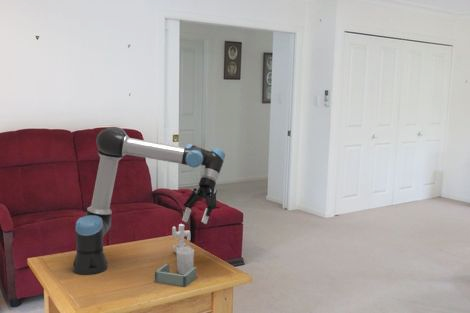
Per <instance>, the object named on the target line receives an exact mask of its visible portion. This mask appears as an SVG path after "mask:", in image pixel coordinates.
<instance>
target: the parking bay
mask: <svg viewBox="0 0 470 313" xmlns="http://www.w3.org/2000/svg"><path fill="white" fill-rule="evenodd" d="M196 278H197V267H195V266H193V268H192V269H191V270H190V271H188V272H187V273H186V274H185V275H184V274H179V273H172V272H170V263H168V262H166V263H165V264H163V266H160V267H159V268H158V269H157V270H155V271H154V283H159V284H166V285H172V286H177V287H184V288H186V287H187V286H188V285H190V283H191V282H193V281H194V280H195V279H196Z"/></svg>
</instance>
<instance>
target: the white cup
mask: <svg viewBox="0 0 470 313" xmlns="http://www.w3.org/2000/svg"><path fill="white" fill-rule="evenodd" d="M176 252H177V253H176ZM176 252H175V253H176V266H177V274H180V275H185V274H186V273H187V272H188V271H190V270H191V269H192V268H193V267H194V260H195V250H194V249H193V248H192V247H191V248H180V249H178V250H177V251H176Z"/></svg>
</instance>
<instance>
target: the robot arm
mask: <svg viewBox="0 0 470 313" xmlns="http://www.w3.org/2000/svg"><path fill="white" fill-rule="evenodd" d="M95 141H96V146H97V147H96V148H98V151H97V154H98V156H99V163H98V168H97V172H96V178H95V183H94V184H95V185H94V189H93V194H92V199H91V204H90V205H89V207H86V213H85V215H84V216H81V217H79V218H78V219H77V220H76V222H75V228H74V229H75V243H76V244H75V245H76V247H75V248H76V254H75V257H74V261H73V264H72V272H74V273H76V274H79V275H95V274H99V273H102V272H104V271H106V270H107V269H108V264H109V263H108V260H107V258H106V255H105V252H104V237H105V235H106V234H107V233H108V232H109V230H110V229H111V227H112V215H113V214H112V213H113V212H112V211H113V210H111V208H110V207H111V202H112V197H113V192H114V191H113V190H114V187H115V182H116V176H117V172H118V166H119V161H120V160H121V159H123V157H124V156H127V155H129V156H134V157H139V158H146V159H149V160H157V161H163V162H168V163H176V164H180V165H183V166H184V165H185V166H188V167H190V168H194V169H195V168H198V167H200V166H202V167H203V166H204V168H203V171H202V173H201V178H200V179H199V183H198V189H197V188H196V187H194V188H193V191H192V192H191V194H190V195H189V197H188V198H187V199H186V201H184V203H183V206H184V207H185V210H184V211H183V216H182V219H181V221H182V222H184V223H188V220H189V218H190V215H191V213H192V208H193V207H194V206H195V205H196V204H197V203H198V201H201V200H204V199H205V203H206V208H205V210H204V213H203V215H202V218H201V221H200V222H201V223H203V224H204V225H207V224H208V220H209V217H210V216H211V213H212V211H213V210H216V209H217V190H216V189H215V187H216V184H217V181H218V179H219V176H220V173H221V170H222V167H223V164H224V161H225V158H226V153H225V152H224V151H223V150H222V149H219V148H216V147H214V148H211V149H210V150H207V149H204V148H203V147H199V146H197V145H195V144H191V143H187V144H186V146H185V147H182V146H178V145H177V146H176V145H171V144H166V143H161V142H160V143H159V142H156V141H155V142H154V141H149V140H143V139H138V138H132V137H129V135H128V134H127V133H126V132H125V130H124V129H123V128H120V127H118V126H110V127H109V126H108V128H105V129H102V130H101V131H99V133H98V134H97V137H96V140H95Z"/></svg>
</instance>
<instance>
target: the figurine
mask: <svg viewBox="0 0 470 313" xmlns="http://www.w3.org/2000/svg"><path fill="white" fill-rule="evenodd" d="M171 230H172V231H171V232H172V233H171V234H172V237H173V238H174V239H175V238H178V244H173V245H172V247H173V250H174V252H175V254H177V252H176V251H177V250H178V249H180V248H191V249H192V247H191V246H190V245H188V244H187V243H185V237H186V240H187V241H188V242H190V241H191V230H185V224H183V223H179V224H178V231H177V228H176V226H172V228H171Z"/></svg>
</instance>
